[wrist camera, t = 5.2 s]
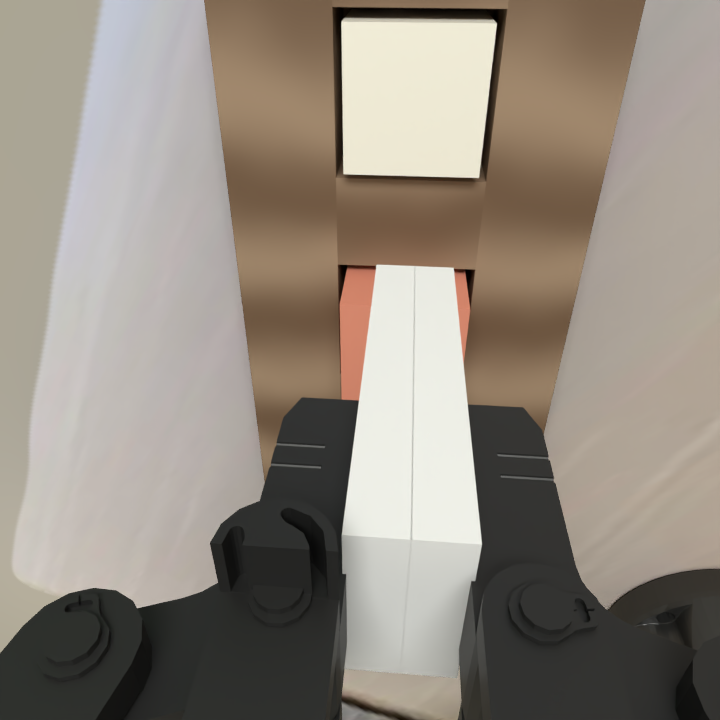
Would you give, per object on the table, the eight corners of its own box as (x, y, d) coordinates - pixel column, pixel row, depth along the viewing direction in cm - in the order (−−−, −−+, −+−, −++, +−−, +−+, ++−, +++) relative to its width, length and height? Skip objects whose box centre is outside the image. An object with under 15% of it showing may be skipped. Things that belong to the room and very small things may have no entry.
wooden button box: (507, 489, 43) (516, 548, 39) (284, 476, 44) (271, 532, 40) (624, -85, 24) (665, -87, 20) (229, -85, 25) (193, -88, 21)
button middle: (453, 356, 33) (457, 410, 29) (350, 352, 33) (341, 404, 30) (463, 262, 30) (470, 309, 26) (349, 258, 30) (339, 304, 26)
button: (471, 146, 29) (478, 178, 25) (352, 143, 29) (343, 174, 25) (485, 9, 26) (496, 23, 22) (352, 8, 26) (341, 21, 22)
